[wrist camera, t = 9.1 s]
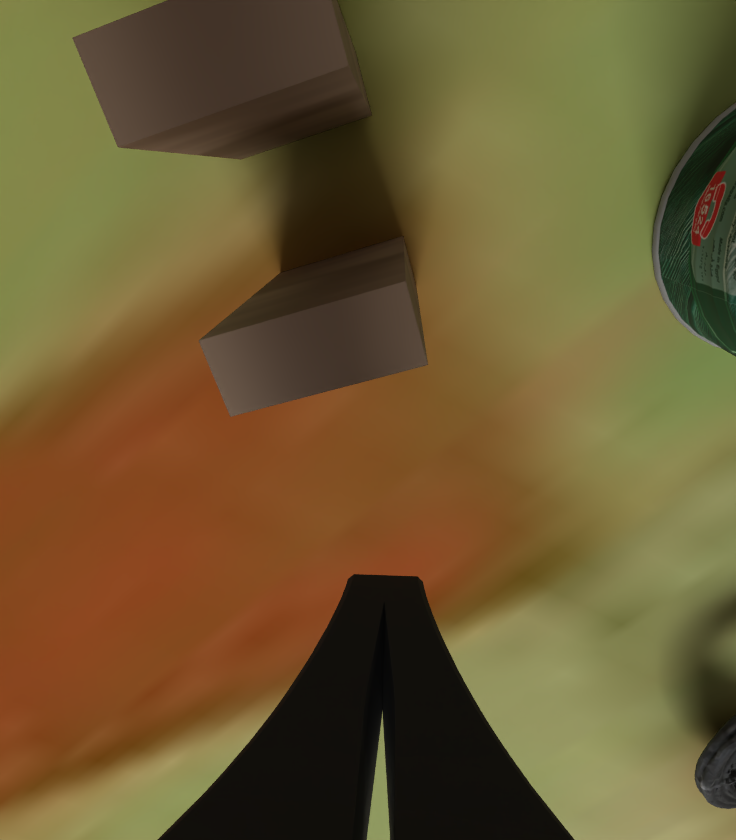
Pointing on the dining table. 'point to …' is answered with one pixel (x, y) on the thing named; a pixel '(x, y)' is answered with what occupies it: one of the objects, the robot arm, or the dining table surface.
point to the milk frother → (719, 768)
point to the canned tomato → (701, 236)
